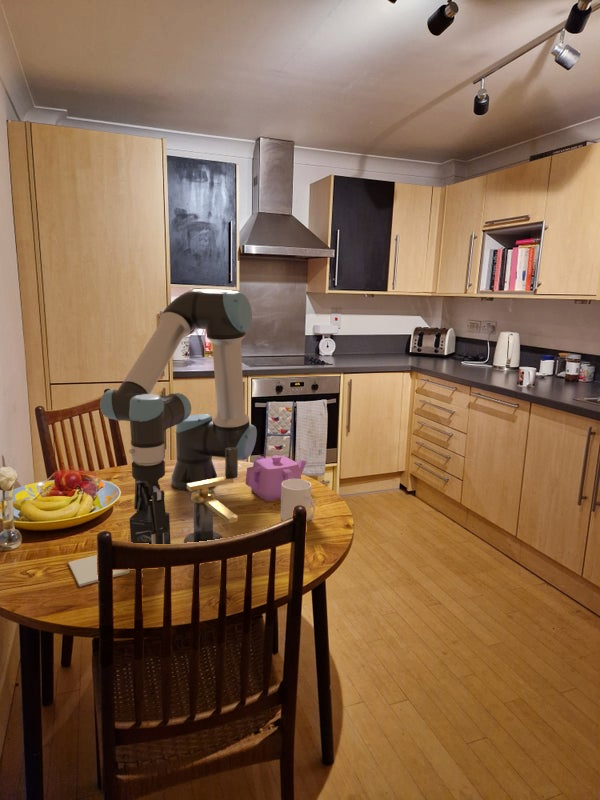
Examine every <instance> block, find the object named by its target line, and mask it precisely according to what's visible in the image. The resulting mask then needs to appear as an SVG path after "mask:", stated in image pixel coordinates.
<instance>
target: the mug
mask: <svg viewBox="0 0 600 800" xmlns="http://www.w3.org/2000/svg"><path fill="white" fill-rule="evenodd" d="M297 505H302V506H305V507H306V508H307V522H308V521H311V520H312V519H313V518H314V516H315V513H316V512H315V510H316V505H315V501H314V499H313V497H312V483H311V482H310V481H308V480H306V479H303V478H301V479H288V480H285V481H283V482H282V486H281V499H280V519H281V520H282V521H283V520H285V519H288V518H290V517H291V516H292V513H293V508H294V507H295V506H297ZM311 506H312V514H311Z"/></svg>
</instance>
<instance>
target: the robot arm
mask: <svg viewBox="0 0 600 800" xmlns="http://www.w3.org/2000/svg"><path fill="white" fill-rule="evenodd" d="M158 321H159V324H158V326H157V327H156V329H155V331H154V332H153V334H152V335H151V337H150V338H149V340H148V342H147V344H146V345H145V347H144V348H143V349H142V351H141V353H140V354H139V356H138V357H137V359H136V361H135V362H134V364H133V365H132V366H131V369H130V370H129V372H128V373H127V374H126V377H125V378H124V380H123V381H122V383H121V384H120V385H119V388H117V389H109V390H107V391H104V393H103V394H102V396H101V398H100V402H99V408H100V412H101V414H102V415H103V416H104V417H105V418H106V419H111V420H115V421H123V422H124V421H125V422H129V428H130V446H131V448H130V449H129V450H128V453H129V454H131V460H132V462H131V476H132V478H133V479H134V482H135V485H134V503H133V509H134V510H136V512H138V511H139V510H141V509H142V510H149V512H150V518H151V523H152V528H153V532H150V534H151V537H152V544H164V533H165V532H168V529H167V520H166V503H165V491H164V490H162V489H161V486H160V484H159V480H160V479H162V478H163V477H165V475H166V461H165V457H166V448H165V446H166V445H165V444H166V443H165V431H166V430H167V429H170V428H172V427H175V426H176V427H175V437H176V439H175V444H176V448H175V449H176V462H175V466H174V469H173V471H172V474H171V486H172V487H173V488H175V489H178V490H181V491H190V490H188V489H187V484H188V483H193V482H198V481H203V480H208V479H213V478H218V475H217V471H216V468H215V465H214V462H213V457H215V458H223V459H225V449H226V448H228V447H236V448H238V461H245V460H247V459H248V458H249V457H250V456H251V455H252V453H253V451H254V448H255V445H256V442H257V436H258V430H257V427H256V426H255V425H254V424H250V416H249V415H247V413H245V402H244V401H245V397H244V377H243V359H242V356H243V355H242V341H243V340H244V338H245V337H246V334H247V333H246V332H249V330H250V329H251V327H252V321H253V312H252V306H251V304H250V300H249V299H248V297H247V296H246V294H244V293H243V292H241V291H234V290H230V289H227V290H226V289H200V288H199V289H197V288H195V289H192V290H188V291H187V292H184V293H183V294H180V295H179V296H177V297H176V298H175V299H174V300H172V301H171V302H170V303H169V304H168V305H167V306H166V307H165V308H164V310H163V311H162V313H161V314H160V315H159V318H158ZM197 329H201V330H206V332H205V333H206V338H207V339H208V340H209V341H210V342H211V344H212V359H213V370H214V385H215V387H214V388H215V401H216V413H217V414H216V415H215V416H214V417H213V416H212V415H211V414H208V413H198V414H195V413H194V414H191V413H192V404H191V402H190V400H189V398H188V397H187V396H186V395H184V394H182V393H179V392H175V393H170V394H168V395H164V394H163V395H162V394H154V393H152V391H153V390H154V388H155V386H156V384H157V383H158V382H159V379H160V378H161V376H162V374H163V372H164V371H165V369H166V367H167V366H168V364H169V362H170V360H171V359H172V358H173V355H174V354H175V352H176V350H177V349H178V347H179V346H180V343H181V341H183V338H186V337H188V336H190V333H191V332H192V331H194V330H197ZM210 488H212V487H208V489H210ZM194 491H197V490H194ZM194 491H193V492H194ZM190 492H191V491H190Z"/></svg>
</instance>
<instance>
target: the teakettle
mask: <svg viewBox="0 0 600 800" xmlns="http://www.w3.org/2000/svg"><path fill="white" fill-rule="evenodd" d="M306 465H307V460H304V459H300V460H299V462H296V461H294V460H293V459H291V458H289V457H287V456H285V455H271V456H270V457H264V456H258V457H257V459H256V460H254V461H253V464H252V466H251V467H246V474H245V485H246V486H247V487H250V489H251V491H252V493H254V494H255V493H256V494H257V495H256V494H255V495H256V496H258V497H259V498H260V497H261V498H260V499H262V500H263V499H264V500H263V501H265V502H271V501H278V500H281V486H282V482H283V481H285V480H288V479H302V474H303V471H304V469H305V467H306Z"/></svg>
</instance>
